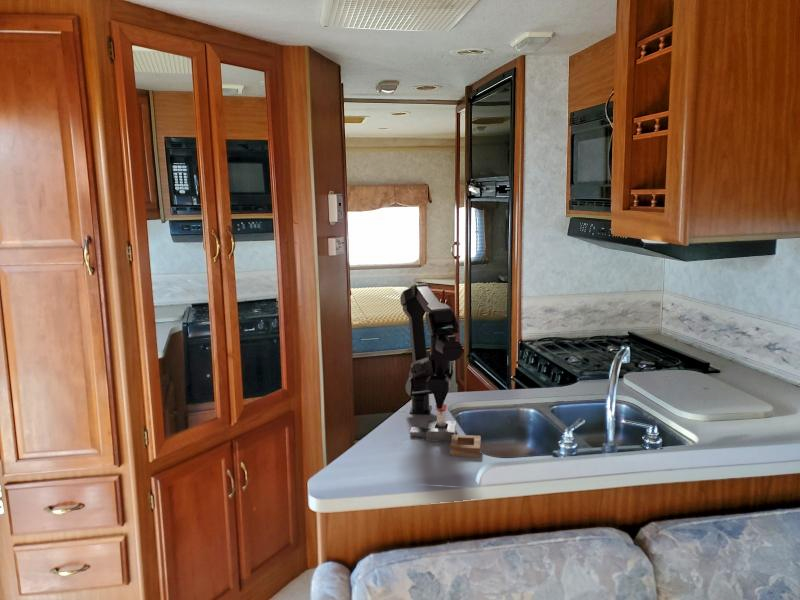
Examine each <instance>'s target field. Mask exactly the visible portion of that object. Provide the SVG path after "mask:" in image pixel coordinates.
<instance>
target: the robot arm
mask: <svg viewBox="0 0 800 600" xmlns="http://www.w3.org/2000/svg"><path fill="white" fill-rule="evenodd" d="M399 299H400V305H401V306H402V311H403V313H404V315H406V317H407V318H408V321H409V322H408V323H409V324H408V325H409V331H410V332H409V335H410V344H411V345H410V346H411V354H412V355H411V356H412V357H411V358H412V362H411V364H410V369H409V372H408V378H407V381H406V383H405V392H406V393H407V394H408V395H409V397H411V407H410V410H409V414H411V415H430V414H431V411H432V405H430V395H431V394H433V397H434V401H435V406H436V405H437V408H438V409H441V408H442V406H443V404H445V403H444V402H445V400H446V398H447V396H448V393H449V392H450V385H451V380H452V378H453V374H454V369H455V364H454V362H455V361H457V360H459V359H460V357H462V355H463V351H464V350H463V349H464V348H463V345H462V343H460V342H459V341H458V340H456V339H457V338H456V335H455V334H459V333H460V332H459V328H460V325H459V323H458V319H457V316H456V314H455V312H454V310H453V309H452V307H450V305H448V304H446V303H443V302H440V301H439V299H438V298H437V297H436V295H435V294H434V293H433V291H432V289H431V287H430V284H429V283H414V284H413V285H411V287H409V288H407V289H405V290H403V291H402V293H401V294H400V297H399ZM424 316H425V318H424ZM424 319H425V323H426V326H427V329H428V332H429V335H430V336H429V340H430V341H429V342H430V343H429V347H430V348H429V349H430V352H429V355H428V353H427V345H426V344H427V343H426V333H425V323H424Z"/></svg>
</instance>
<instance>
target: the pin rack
mask: <svg viewBox="0 0 800 600" xmlns="http://www.w3.org/2000/svg"><path fill="white" fill-rule="evenodd" d="M481 440H482V437H481V435H470V434H469V435H468V434H456V435H452V439H451V442H450V446H449V456H453V457H468V458H469V457H470V458H471V457H472V458H475V457H476V458H480V457H481V446H482V443H481V442H482V441H481Z"/></svg>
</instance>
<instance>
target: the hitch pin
mask: <svg viewBox="0 0 800 600" xmlns="http://www.w3.org/2000/svg"><path fill="white" fill-rule="evenodd" d="M447 409H448V406H447V405H446V404H445V403H443V406H442V408H441V409H438V408H437V405H436V404H435V410H436V420H437V428H441V429H446V421H447V413H446V412H447Z"/></svg>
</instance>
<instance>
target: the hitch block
mask: <svg viewBox="0 0 800 600" xmlns="http://www.w3.org/2000/svg"><path fill="white" fill-rule="evenodd" d="M409 434H410V435H409V437H410V438H426V439H425V440H426V441H427V442H445V443H451V439H452V435H457V420H446V429H441V428H437V419H429V420H428V424H427V426H426V427H422V426H421V427H420V426H411V428H410V431H409Z"/></svg>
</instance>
